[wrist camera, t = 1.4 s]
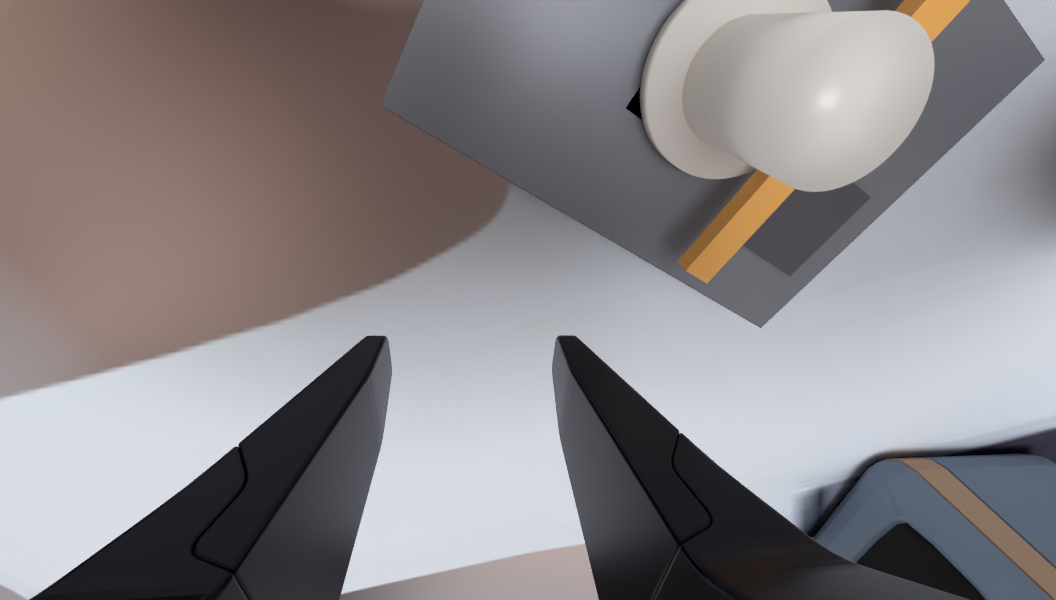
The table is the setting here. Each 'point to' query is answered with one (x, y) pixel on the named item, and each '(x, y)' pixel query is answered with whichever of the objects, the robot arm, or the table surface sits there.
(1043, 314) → the table surface
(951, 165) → the table surface
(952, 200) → the table surface
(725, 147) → the plug
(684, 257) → the orange matchstick
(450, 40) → the grey flat block
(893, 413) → the table surface
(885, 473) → the retro portable television
